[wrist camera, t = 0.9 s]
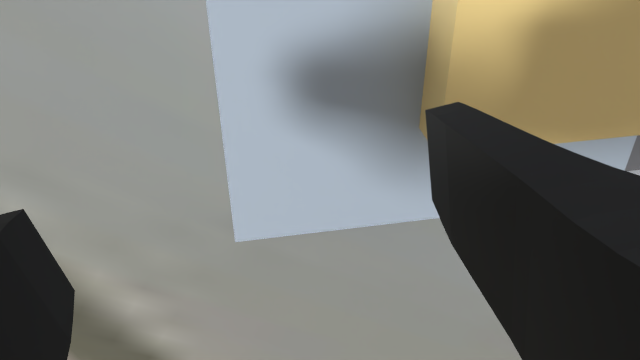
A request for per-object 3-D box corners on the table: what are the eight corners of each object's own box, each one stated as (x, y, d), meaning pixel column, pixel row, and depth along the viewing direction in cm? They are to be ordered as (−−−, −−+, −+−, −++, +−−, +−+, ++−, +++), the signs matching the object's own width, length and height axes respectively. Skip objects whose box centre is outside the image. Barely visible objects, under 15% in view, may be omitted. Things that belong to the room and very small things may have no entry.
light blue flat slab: (715, -241, 16) (774, -246, 14) (586, 169, 24) (615, 196, 22) (178, -242, 14) (175, -248, 12) (232, 209, 22) (235, 241, 20)
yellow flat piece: (698, -76, 16) (746, -63, 15) (635, 107, 20) (669, 132, 18) (439, -64, 15) (464, -50, 14) (418, 127, 19) (437, 156, 17)
